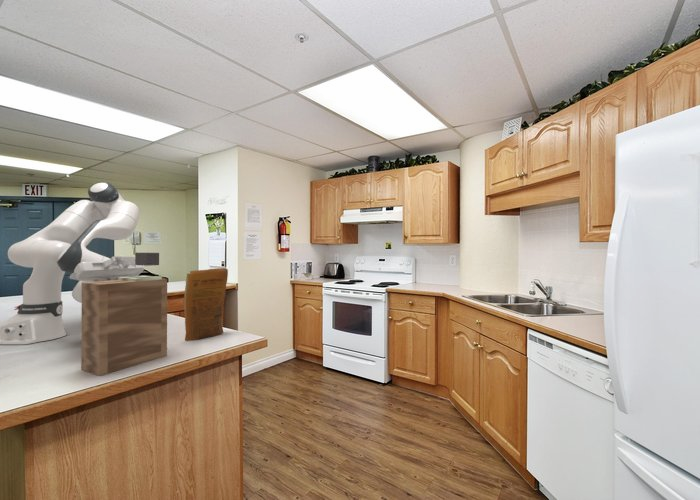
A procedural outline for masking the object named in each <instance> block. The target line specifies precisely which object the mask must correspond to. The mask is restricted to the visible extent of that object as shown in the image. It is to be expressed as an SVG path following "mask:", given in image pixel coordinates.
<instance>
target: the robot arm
mask: <svg viewBox="0 0 700 500" xmlns="http://www.w3.org/2000/svg"><path fill="white" fill-rule="evenodd" d="M87 195H88V197H89V199H90V200H89V199H80V200H78V201H77V202H75V203H73V204H72V205H70V206H69V207H68V208H66V209H65V210H64V211H63V212H62V213H61V214H60V215H58V216H57V217H56V218H55V219H54V220H53V221H52V222H50V223H49V224H48V225H46V227H44V228H42V229H41V230H38V231H37V232H36V233H34V234H32V235H29V237H27V238H25V239H23V240H21V241H17V242H16V243H13V244H11V246H10V247H9V248H8V250H7V258H8V260H9V261H10V262H11V263H12V264H13V265H17V266H20V267H23V268H33V269H32V272H31V275H30V277H29V278H28V279H27V280H26V281H25V282H23V285H22V303H21V304H20V305H18V306H14V307H13V308H14V309H13V310H14V311H16V310H17V313H16V314H14V315H13V316H12V317H10V318H8V319H7V320H5V321H4V322H2V323H1V324H0V345H30V344H34V343H39V342H44V341H51V340H55V339H60V338H62V337H64V336H65V337H66V335H67V333H66V330H65V327H64V323H63V309H64V308H63V301H62V285H63V284H62V283H63V279H64V277H65V273H69V274H70V275H69V279H70V280H73V281H78V282H77V283H76V284H75V286H74V287H73V290H72V291H71V297H72V299H74V300H75V301H76V302H78V303H80V304H82V283H84V282H97V281H110V280H118V277H131V276H140V274H141V273H143V271H145V266H144V265H130V264H116V263H117V262H118V261H119V260H118V257H114V256H111V258H110V257H107V256H105V255H101V254H99V253H97V252H93V251H92V250H89V249H88V248H87V246H88V245H89V244H90V243H91V241H92V240H93V239H107V240H112V241H121V240H126V239H128V238H130V237H131V236H132V235H133V234H134V232H135V230H136V228H137V225H138V222H139V218H140V209H139V207H138V206H137V204H135V203H134V202H131V201H129V200H125V199H124V197H122V195H121V193H119V191H118V189H117V187H115V186H114V185H113V184H112V183H110V182H106V181H100V182H96V183H94V184H92V185H91V186H90V187H89V188H88V190H87Z"/></svg>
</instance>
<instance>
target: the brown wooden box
mask: <svg viewBox="0 0 700 500" xmlns="http://www.w3.org/2000/svg"><path fill="white" fill-rule="evenodd" d="M80 337H81V342H80V343H81V344H80V346H81V355H80V356H81V359H80V360H81V368H80V369H81V371H84V372H87V373H90V374H92V375H96V376H99V377H101V376H104V375H107V374H111V373H114V372H117V371H121V370H124V369H128V368H130V366H131V367H134V366H137V365H141V364H143V362H144V363H147V362H150V361H152V360H157V359H159V358H163V357H166V356H168V278H162V276H153V275H138V276H131V277H118V280H110V281H97V282H84V283H82V303H81V336H80Z"/></svg>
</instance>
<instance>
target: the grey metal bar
mask: <svg viewBox="0 0 700 500" xmlns="http://www.w3.org/2000/svg"><path fill="white" fill-rule="evenodd" d="M113 257H118V260H119V261H118V262H117V263H116V264H130V265H144V267H149V266H160V252H135V256H119V255H117V256H113Z"/></svg>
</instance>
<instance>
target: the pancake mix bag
mask: <svg viewBox="0 0 700 500" xmlns="http://www.w3.org/2000/svg"><path fill="white" fill-rule="evenodd" d="M228 274H229V270H228V268H226V267H223V268H222V267H221V268H220V267H217V268H208V269H201V270H200V269H199V270H198V269H196V270H190V271H189V273H186V278H185V286H184V287H185V288H184V297H183V298H184V299H183V301H184V303H183V306H184V325H185V326H184V327H185V328H184V329H185V336H184V341H199V340H202V339H206V338H210V337H214V336H219V335H220V336H221V335H222V334H223V333H224V328H223V315H224V302H225V297H226V293H227V292H226V291H227V284H228V283H227V282H228V278H229V275H228Z"/></svg>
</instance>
